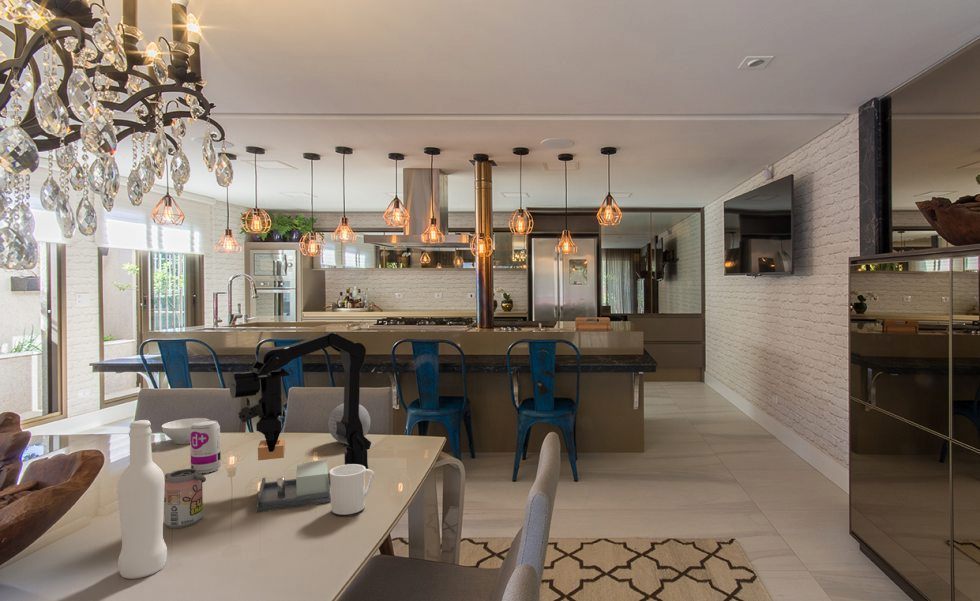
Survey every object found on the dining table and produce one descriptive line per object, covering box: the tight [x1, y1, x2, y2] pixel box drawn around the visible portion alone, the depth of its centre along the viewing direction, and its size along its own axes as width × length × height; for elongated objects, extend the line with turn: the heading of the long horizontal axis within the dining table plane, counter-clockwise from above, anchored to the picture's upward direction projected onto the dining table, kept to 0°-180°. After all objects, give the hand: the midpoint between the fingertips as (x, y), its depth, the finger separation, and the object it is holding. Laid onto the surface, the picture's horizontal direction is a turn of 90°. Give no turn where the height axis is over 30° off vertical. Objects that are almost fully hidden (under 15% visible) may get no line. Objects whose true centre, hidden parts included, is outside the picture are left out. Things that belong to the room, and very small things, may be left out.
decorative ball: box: [327, 402, 371, 444], centre depth 193 cm, size 15×15×15 cm
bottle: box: [116, 419, 168, 580], centre depth 105 cm, size 8×8×30 cm
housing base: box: [256, 477, 332, 513], centre depth 143 cm, size 18×16×5 cm
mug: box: [328, 464, 375, 518], centre depth 133 cm, size 11×9×10 cm
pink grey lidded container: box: [163, 468, 207, 529], centre depth 128 cm, size 9×8×12 cm
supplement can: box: [189, 419, 222, 475], centre depth 165 cm, size 8×8×15 cm
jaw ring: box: [257, 438, 286, 461], centre depth 148 cm, size 7×7×4 cm
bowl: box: [161, 417, 210, 445], centre depth 198 cm, size 16×16×7 cm
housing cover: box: [295, 459, 329, 496], centre depth 144 cm, size 8×12×6 cm, turn 19°
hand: (272, 448), depth 148 cm, fingers closed on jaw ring, 7 cm apart
